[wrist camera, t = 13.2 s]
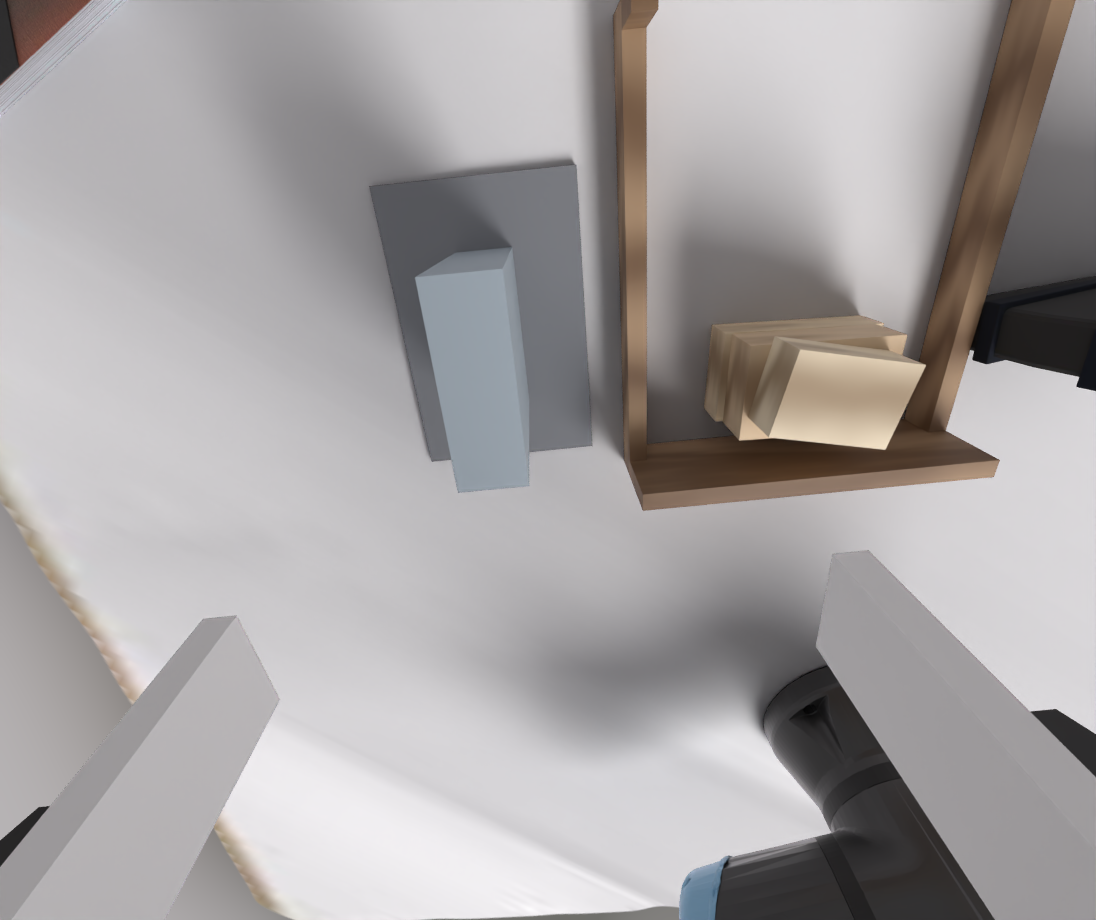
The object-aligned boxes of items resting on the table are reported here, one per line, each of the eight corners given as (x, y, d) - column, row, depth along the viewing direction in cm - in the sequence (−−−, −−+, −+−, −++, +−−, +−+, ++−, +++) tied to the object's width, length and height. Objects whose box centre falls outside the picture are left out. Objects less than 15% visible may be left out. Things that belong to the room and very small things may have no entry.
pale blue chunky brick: (529, 400, 35) (529, 485, 24) (479, 405, 35) (457, 492, 24) (512, 246, 30) (502, 268, 20) (455, 252, 30) (415, 277, 20)
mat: (591, 443, 37) (592, 445, 37) (432, 459, 37) (431, 461, 37) (575, 165, 29) (576, 164, 28) (371, 186, 29) (369, 186, 29)
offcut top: (854, 429, 31) (885, 449, 28) (747, 417, 30) (768, 437, 28) (889, 350, 29) (926, 365, 26) (774, 336, 28) (800, 349, 25)
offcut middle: (854, 412, 34) (881, 430, 31) (722, 422, 34) (739, 440, 31) (875, 323, 31) (907, 334, 28) (731, 333, 31) (750, 345, 28)
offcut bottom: (837, 397, 36) (861, 412, 34) (702, 405, 36) (715, 421, 34) (855, 313, 34) (884, 323, 31) (709, 323, 34) (725, 333, 31)
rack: (916, 432, 37) (993, 476, 31) (624, 460, 38) (642, 510, 31) (1042, -32, 25) (1208, -109, 19) (613, 15, 26) (639, -46, 20)
